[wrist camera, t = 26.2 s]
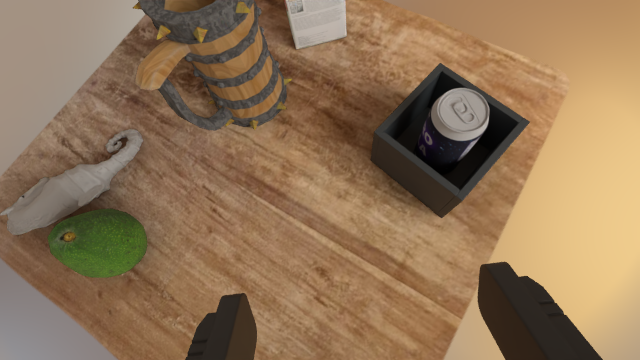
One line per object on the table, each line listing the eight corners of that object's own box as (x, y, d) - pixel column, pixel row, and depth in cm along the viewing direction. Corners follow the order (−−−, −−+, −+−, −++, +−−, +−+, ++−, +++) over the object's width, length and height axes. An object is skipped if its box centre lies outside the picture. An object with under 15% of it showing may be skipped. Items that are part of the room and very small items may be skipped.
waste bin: (497, 152, 45) (530, 121, 36) (441, 218, 43) (462, 200, 34) (425, 101, 48) (440, 62, 40) (370, 160, 46) (373, 132, 38)
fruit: (134, 206, 47) (65, 178, 36) (173, 241, 45) (113, 225, 34) (91, 253, 45) (3, 240, 34) (129, 292, 43) (50, 293, 32)
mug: (311, 77, 51) (285, -50, 32) (247, 175, 47) (174, 97, 28) (240, 45, 54) (178, -89, 35) (175, 135, 50) (64, 40, 31)
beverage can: (440, 129, 46) (469, 74, 34) (467, 163, 44) (506, 117, 32) (404, 149, 45) (421, 101, 34) (429, 185, 43) (456, 147, 32)
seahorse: (105, 106, 51) (-19, 208, 44) (142, 128, 45) (3, 251, 38) (129, 130, 55) (19, 227, 48) (166, 153, 49) (45, 269, 42)
